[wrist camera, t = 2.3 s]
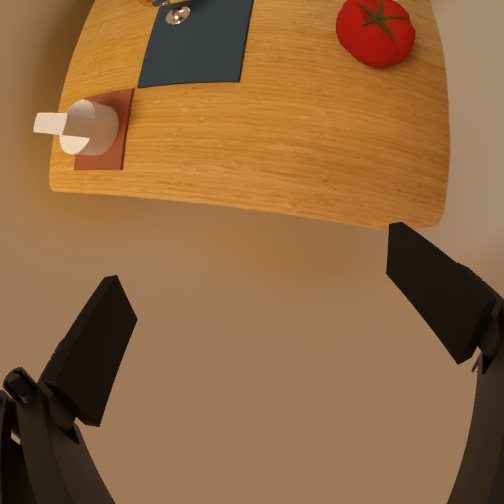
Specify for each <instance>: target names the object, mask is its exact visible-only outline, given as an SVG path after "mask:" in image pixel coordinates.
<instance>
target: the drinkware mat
mask: <svg viewBox="0 0 504 504" xmlns="http://www.w3.org/2000/svg"><path fill="white" fill-rule="evenodd" d="M252 3H253V0H190V1H184V2H178V3H173V4H171V6H172V7H173V8H176V7H179V6H186V7H188V8H189V9H190V14H189V16H188V17H187V18H186V19H185V20H184V21H182V22H180V23H178V24H169V23H167V22H166V16H167V14H168V13H169V12H170V11H171V9H170V8H169V7H167V6H165V5H164V6H160V8H159V11H158V14H157V16H156V19H155V22H154V26H153V29H152V32H151V35H150V39H149V42H148V46H147V49H146V53H145V57H144V61H143V65H142V69H141V73H140V77H139V82H138V86H137V88H146V87H154V86H163V85H173V84H187V83H208V82H239V78H240V72H241V66H242V59H243V53H244V47H245V41H246V36H247V30H248V24H249V19H250V14H251V8H252Z"/></svg>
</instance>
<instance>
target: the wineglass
mask: <svg viewBox="0 0 504 504" xmlns="http://www.w3.org/2000/svg"><path fill="white" fill-rule="evenodd" d="M137 1H138V2H139V3H140V4H142V5H144V6H147V7H157V6H160V5H162V4H164V5H165V6H167V7H169V8H170V9H171V11H170V12H169V13H168V14H167V16H166V22H167V23H169V24H178V23H180V22H182V21H184V20H185V19H186V18H187V17H188V16H189V14H190V9H189V8H188V7H186V6H179V7H176V8H173V7H172V6H171V4H170V2H169V0H137Z"/></svg>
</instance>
